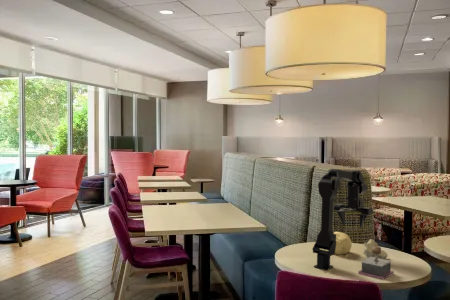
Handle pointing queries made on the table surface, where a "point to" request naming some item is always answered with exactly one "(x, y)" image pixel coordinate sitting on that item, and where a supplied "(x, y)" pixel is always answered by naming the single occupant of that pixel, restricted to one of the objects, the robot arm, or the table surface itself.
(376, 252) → the plunger
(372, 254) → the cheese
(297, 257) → the table surface
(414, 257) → the table surface
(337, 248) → the sculpture
